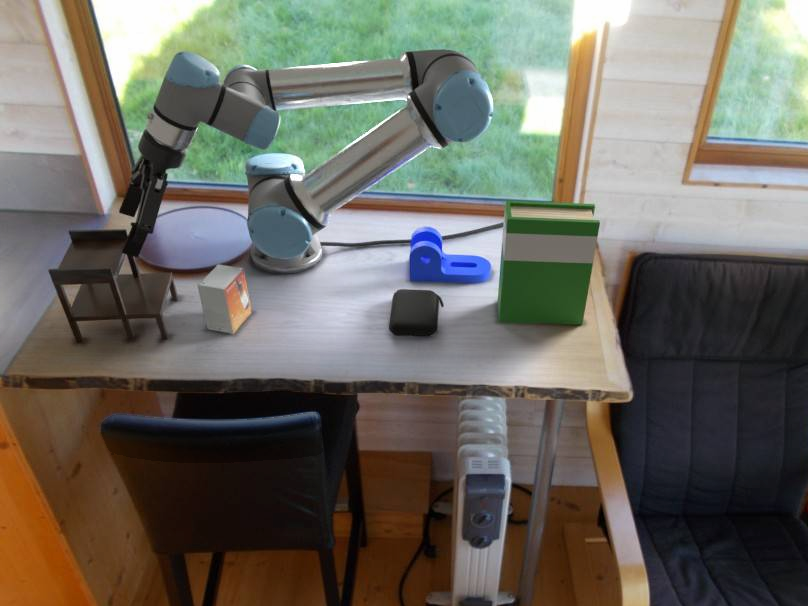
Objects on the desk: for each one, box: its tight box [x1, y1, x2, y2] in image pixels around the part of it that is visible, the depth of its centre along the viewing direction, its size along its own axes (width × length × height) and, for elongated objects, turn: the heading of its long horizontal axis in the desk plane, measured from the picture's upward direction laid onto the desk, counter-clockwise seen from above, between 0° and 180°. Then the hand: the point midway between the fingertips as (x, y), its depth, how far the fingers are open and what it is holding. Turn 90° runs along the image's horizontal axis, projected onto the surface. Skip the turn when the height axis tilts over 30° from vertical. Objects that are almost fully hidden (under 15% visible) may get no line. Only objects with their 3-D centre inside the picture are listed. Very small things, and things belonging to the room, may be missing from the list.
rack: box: [47, 228, 179, 344], centre depth 140 cm, size 16×14×16 cm
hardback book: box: [497, 199, 601, 325], centre depth 150 cm, size 18×7×24 cm, turn 94°
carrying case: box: [388, 288, 444, 338], centre depth 152 cm, size 11×3×15 cm
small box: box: [196, 263, 252, 335], centre depth 144 cm, size 8×6×10 cm
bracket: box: [408, 226, 492, 284], centre depth 164 cm, size 18×8×9 cm, turn 93°
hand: (128, 233), depth 141 cm, fingers open, 13 cm apart
